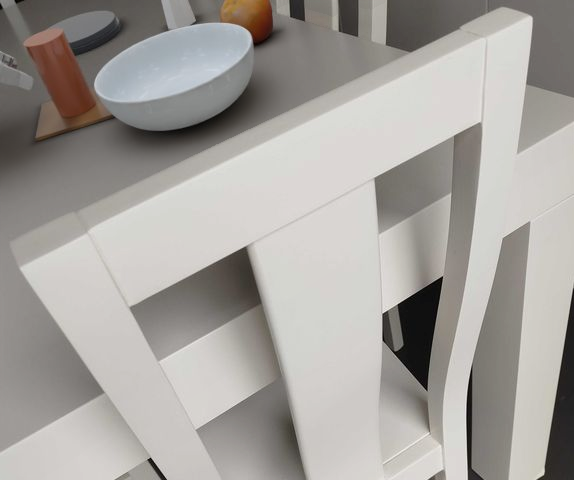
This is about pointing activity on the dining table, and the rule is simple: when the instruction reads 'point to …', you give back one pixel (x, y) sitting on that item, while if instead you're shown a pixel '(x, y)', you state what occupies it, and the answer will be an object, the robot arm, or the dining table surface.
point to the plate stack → (89, 30)
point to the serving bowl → (178, 76)
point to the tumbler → (60, 72)
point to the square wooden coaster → (68, 119)
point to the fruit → (249, 16)
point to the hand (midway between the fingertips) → (23, 74)
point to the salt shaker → (178, 13)
